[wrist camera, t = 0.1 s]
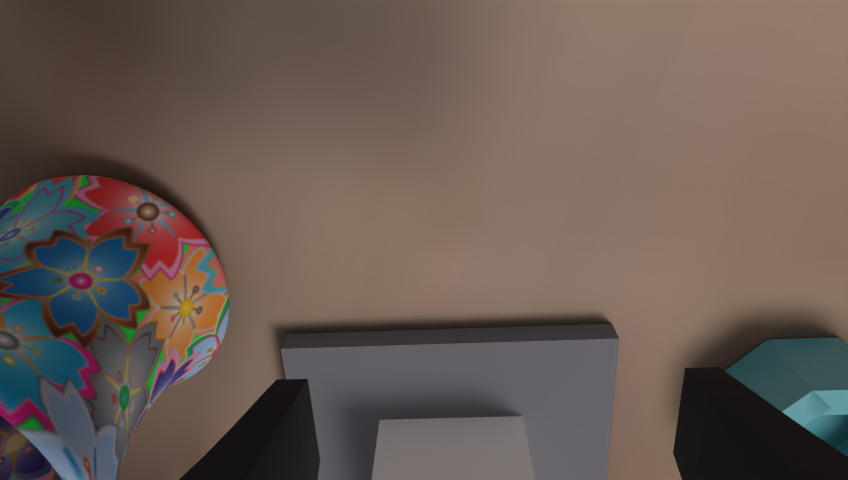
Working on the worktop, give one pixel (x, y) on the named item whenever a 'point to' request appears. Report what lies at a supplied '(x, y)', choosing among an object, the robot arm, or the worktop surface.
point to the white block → (453, 449)
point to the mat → (462, 389)
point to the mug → (96, 321)
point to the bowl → (802, 383)
